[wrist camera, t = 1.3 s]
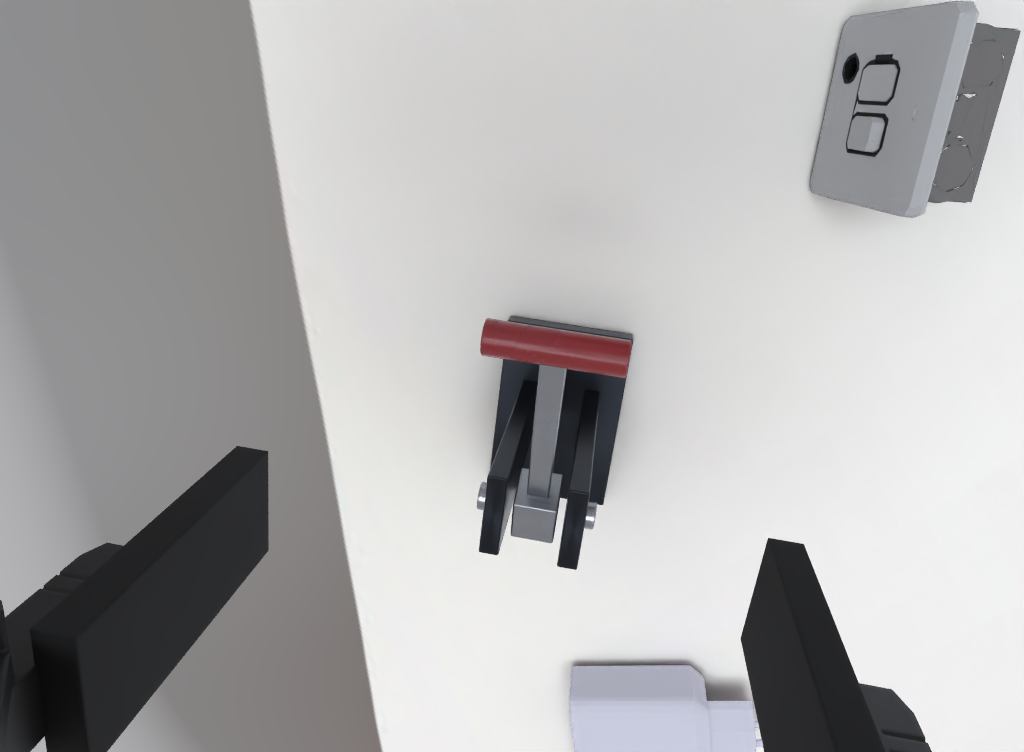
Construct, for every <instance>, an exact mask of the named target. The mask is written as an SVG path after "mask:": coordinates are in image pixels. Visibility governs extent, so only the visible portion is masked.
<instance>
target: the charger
mask: <svg viewBox="0 0 1024 752" xmlns="http://www.w3.org/2000/svg"><path fill="white" fill-rule="evenodd" d="M569 710H570V721H571V729H572V737H573V744H574V751H575V752H756V747H763V743H762V739H756V737H755V728H759V724H758V721H754V711H753V703H752V701H707V696H706V689H705V681H704V676H702V675H701V674H700V673H699V672H698V671H696V670H695V669H694V668H693V667H691V666H690V665H655V666H572V675H571V685H570V695H569Z"/></svg>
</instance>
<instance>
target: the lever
mask: <svg viewBox="0 0 1024 752" xmlns="http://www.w3.org/2000/svg"><path fill="white" fill-rule="evenodd" d="M631 344H632V342H631V340H625V339H619V338H612V337H606V336H600V335H593V334H587V333H580V332H574V331H567V330H561V329H554V328H548V327H541V326H535V325H528V324H522V323H515V322H509V321H502V320H496V319H489V318H487V319H486V321H485V323H484V327H483V332H482V337H481V348H480V351H481V355H482V356H488V357H495V358H501V359H507V360H513V361H520V362H526V363H532V364H539V365H540V367H539V376H538V386H537V396H536V406H535V416H534V426H533V436H532V446H531V456H530V466H529V469H526V468H522V469H521V471H520V476H519V480H518V485H517V489H516V494H515V498H514V503H513V513H512V525H511V536H514V537H520V538H525V539H531V540H536V541H542V542H547V543H552V542H553V538H554V532H555V526H556V520H557V514H558V508H559V501H560V495H561V488H562V482H563V475H561V474H555V473H552V472H553V465H554V458H555V451H556V443H557V436H558V429H559V421H560V414H561V407H562V399H563V392H564V385H565V377H566V370H567V369H570V370H576V371H583V372H589V373H595V374H602V375H608V376H614V377H620V378H625V377H626V375H627V370H628V365H629V359H630V353H631Z"/></svg>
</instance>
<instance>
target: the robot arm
mask: <svg viewBox="0 0 1024 752" xmlns="http://www.w3.org/2000/svg"><path fill="white" fill-rule="evenodd" d="M267 552H268V451H262V450H257V449H251V448H246V447H240V446H237V447H236V448H234V449H233V450H232V451H231V452H230V453H229V454H228V455H226V456H225V457H224V458H223V459H222V460H221V461H220V462H218V463H217V464H216V465H215V466H214V467H213V468H212V469H211V470H209V471H208V472H207V473H206V474H205V475H204V476H203V477H202V478H200V479H199V480H198V481H197V482H196V483H195V484H194V485H192V486H191V487H190V488H189V489H188V490H187V491H186V492H185V493H183V494H182V495H181V496H180V497H179V498H178V499H176V500H175V501H174V502H173V503H172V504H171V505H170V506H169V507H167V508H166V509H165V510H164V511H163V512H162V513H161V514H160V515H158V516H157V517H156V518H155V519H154V520H153V521H152V522H151V523H149V524H148V525H147V526H146V527H145V528H144V529H142V530H141V531H140V532H139V533H138V534H137V535H136V536H134V537H133V538H132V539H131V540H130V541H129V542H128V543H127V544H126V545H124V546H122V545H116V544H111V543H106V544H103V545H102V546H99V547H97V548H95V549H93V550H91V551H89V552H86V553H84V554H82V555H80V556H79V557H78V558H77V559H75V560H74V561H73V562H71V563H70V564H69V565H68V566H67V567H65V568H64V569H63V570H62V571H61V572H60V575H56V576H55V577H53V578H52V579H51V580H50V581H49V582H47V583H46V584H45V585H44V588H43V589H39V590H38V591H37V592H35V593H34V594H33V595H32V596H31V597H29V598H28V599H27V600H26V601H24V603H22V604H21V605H20V606H18V607H17V608H16V609H15V610H14V611H12V612H11V613H10V614H9V615H7V616H6V617H5V616H4V610H3V605H2V601H1V600H0V752H30V751H31V750H32V749H33V748H34V747H35V746H36V745H37V743H39V741H40V740H41V739H42V738H43V737H44V736H45V741H46V748H47V752H107V751H108V750H109V749H110V747H111V746H112V745H113V744H114V742H115V741H116V740H117V739H118V737H119V736H120V735H121V733H122V732H123V731H124V730H125V729H126V727H127V726H128V725H129V723H130V722H131V721H132V720H133V719H134V717H135V716H136V715H137V714H138V712H139V711H140V710H141V709H142V707H143V706H144V705H145V704H146V702H147V701H148V700H149V699H150V697H151V696H152V695H153V693H154V692H155V691H156V690H157V689H158V687H159V686H160V685H161V684H162V682H163V681H164V680H165V679H166V677H167V676H168V675H169V674H170V673H171V671H172V670H173V669H174V667H175V666H176V665H177V664H178V662H179V661H180V660H181V659H182V657H183V656H184V655H185V653H187V651H188V650H189V649H190V647H191V646H192V645H193V644H194V643H195V641H196V640H197V639H198V637H199V636H200V635H201V634H202V633H203V631H204V630H205V629H206V628H207V626H208V625H209V624H210V623H211V621H212V620H213V619H214V618H215V616H216V615H217V614H218V613H219V611H220V610H221V609H222V608H223V606H224V605H225V604H226V603H227V601H228V600H229V599H230V598H231V596H232V595H233V594H234V593H235V591H236V590H237V589H238V588H239V586H240V585H241V584H242V582H243V581H244V580H245V579H246V578H247V576H248V575H249V574H250V573H251V571H252V570H253V569H254V568H255V566H256V565H257V564H258V563H259V561H260V560H261V559H262V558H263V556H264V555H265V554H266V553H267ZM741 642H742V647H743V652H744V656H745V661H746V666H747V671H748V676H749V680H750V685H751V690H752V695H753V700H754V704H755V709H756V714H757V719H758V724H759V728H760V733H761V738H762V743H763V748H764V752H932V751H931V749H930V747H929V745H928V743H925V736H924V734H923V732H922V730H921V728H920V726H919V723H918V721H917V719H916V717H915V715H914V713H913V712H912V711H911V710H910V709H909V708H908V707H907V705H906V704H905V703H904V702H903V701H902V700H901V699H900V698H899V697H898V696H897V695H896V693H895V692H894V691H893V690H891V689H886V688H881V687H876V686H870V685H865V684H860V683H858V680H857V678H856V675H855V673H854V670H853V668H852V665H851V663H850V660H849V658H848V655H847V653H846V650H845V647H844V645H843V642H842V640H841V637H840V635H839V632H838V630H837V627H836V625H835V622H834V620H833V617H832V615H831V612H830V610H829V607H828V604H827V602H826V599H825V597H824V594H823V592H822V589H821V587H820V584H819V582H818V579H817V577H816V574H815V572H814V569H813V567H812V564H811V561H810V559H809V556H808V554H807V551H806V549H805V546H804V544H800V543H794V542H788V541H783V540H777V539H771V538H768V541H767V544H766V548H765V552H764V555H763V559H762V563H761V566H760V570H759V574H758V577H757V581H756V585H755V588H754V592H753V595H752V599H751V603H750V606H749V610H748V614H747V617H746V621H745V625H744V628H743V632H742V636H741Z"/></svg>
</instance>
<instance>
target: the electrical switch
mask: <svg viewBox="0 0 1024 752" xmlns="http://www.w3.org/2000/svg"><path fill="white" fill-rule="evenodd" d="M978 15H979V12H978V10H977V8H976V6H975V4H974V2H966V1H952V2H945V3H939V4H932V5H925V6H918V7H911V8H904V9H897V10H890V11H884V12H877V13H870V14H863V15H856V16H851V17H850V18H849V20H848V21H847V22H846V24H845V25H844V27H843V30H842V35H841V40H840V44H839V49H838V54H837V59H836V63H835V68H834V73H833V77H832V82H831V87H830V92H829V96H828V101H827V106H826V111H825V115H824V120H823V125H822V129H821V134H820V139H819V144H818V148H817V153H816V158H815V162H814V167H813V172H812V177H811V182H810V186H811V189H812V192H813V193H814V194H817V195H821V196H824V197H828V198H831V199H835V200H839V201H843V202H847V203H851V204H855V205H858V206H862V207H866V208H870V209H874V210H878V211H882V212H886V213H889V214H893V215H897V216H903V217H910V218H915V217H917V216H919V215H922V214H924V213H925V210H926V206H927V202H932V203H941V202H946V201H952V202H964V203H967V202H972V198H973V195H974V191H975V188H976V184H977V181H978V177H979V174H980V170H981V167H982V163H983V160H984V156H985V153H986V149H987V146H988V142H989V139H990V135H991V132H992V129H993V125H994V122H995V118H996V115H997V111H998V108H999V104H1000V101H1001V97H1002V94H1003V90H1004V87H1005V83H1006V80H1007V76H1008V73H1009V69H1010V66H1011V62H1012V59H1013V56H1014V52H1015V49H1016V45H1017V42H1018V38H1019V35H1020V31H1018V30H1016V29H1009V28H996V27H993V26H991V25H988V24H982V23H976V22H977V18H978ZM971 42H973V43H972V44H971ZM970 44H971V45H970ZM1002 55H1003V56H1004V59H1003V56H1002ZM993 80H994V81H993ZM963 94H976V95H975V96H973V97H971V98H968V97H966V96H964V95H963ZM957 96H958V100H956V98H957ZM947 136H948V137H947ZM957 136H961V137H964V138H956V137H957ZM962 145H966V147H965V146H962ZM945 147H948V148H946V149H945V150H944V151H943V152H942V153H941V151H942V150H943V149H944V148H945ZM973 167H974V168H973ZM972 169H973V170H972ZM933 183H934V184H935V185H936V186H935V185H934V184H933ZM959 186H960V187H959ZM956 187H959V188H956ZM954 188H956V189H954Z"/></svg>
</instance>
